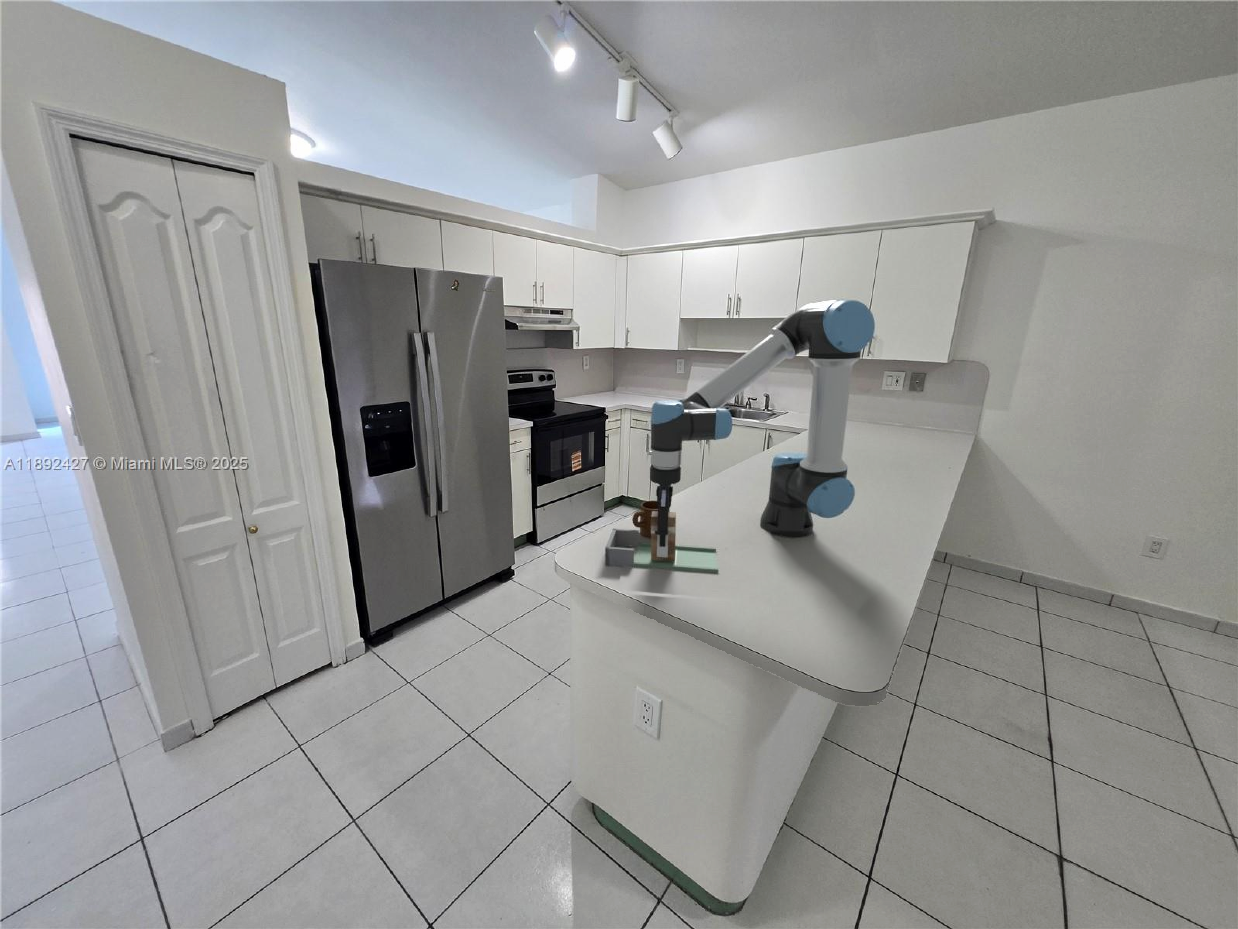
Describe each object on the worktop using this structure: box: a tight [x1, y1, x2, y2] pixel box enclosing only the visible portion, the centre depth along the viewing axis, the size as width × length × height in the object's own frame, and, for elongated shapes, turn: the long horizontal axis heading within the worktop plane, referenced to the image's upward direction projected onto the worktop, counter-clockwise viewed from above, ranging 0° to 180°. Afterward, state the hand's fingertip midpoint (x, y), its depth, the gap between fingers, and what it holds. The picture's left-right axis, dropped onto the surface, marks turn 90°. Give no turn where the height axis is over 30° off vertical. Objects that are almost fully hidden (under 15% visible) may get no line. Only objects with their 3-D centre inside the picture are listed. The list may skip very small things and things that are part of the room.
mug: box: [631, 500, 658, 539], centre depth 133 cm, size 12×8×9 cm, turn 133°
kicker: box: [650, 511, 677, 562], centre depth 118 cm, size 6×4×12 cm, turn 81°
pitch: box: [604, 528, 719, 574], centre depth 121 cm, size 28×12×5 cm, turn 81°
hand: (662, 552), depth 119 cm, fingers closed on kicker, 4 cm apart
